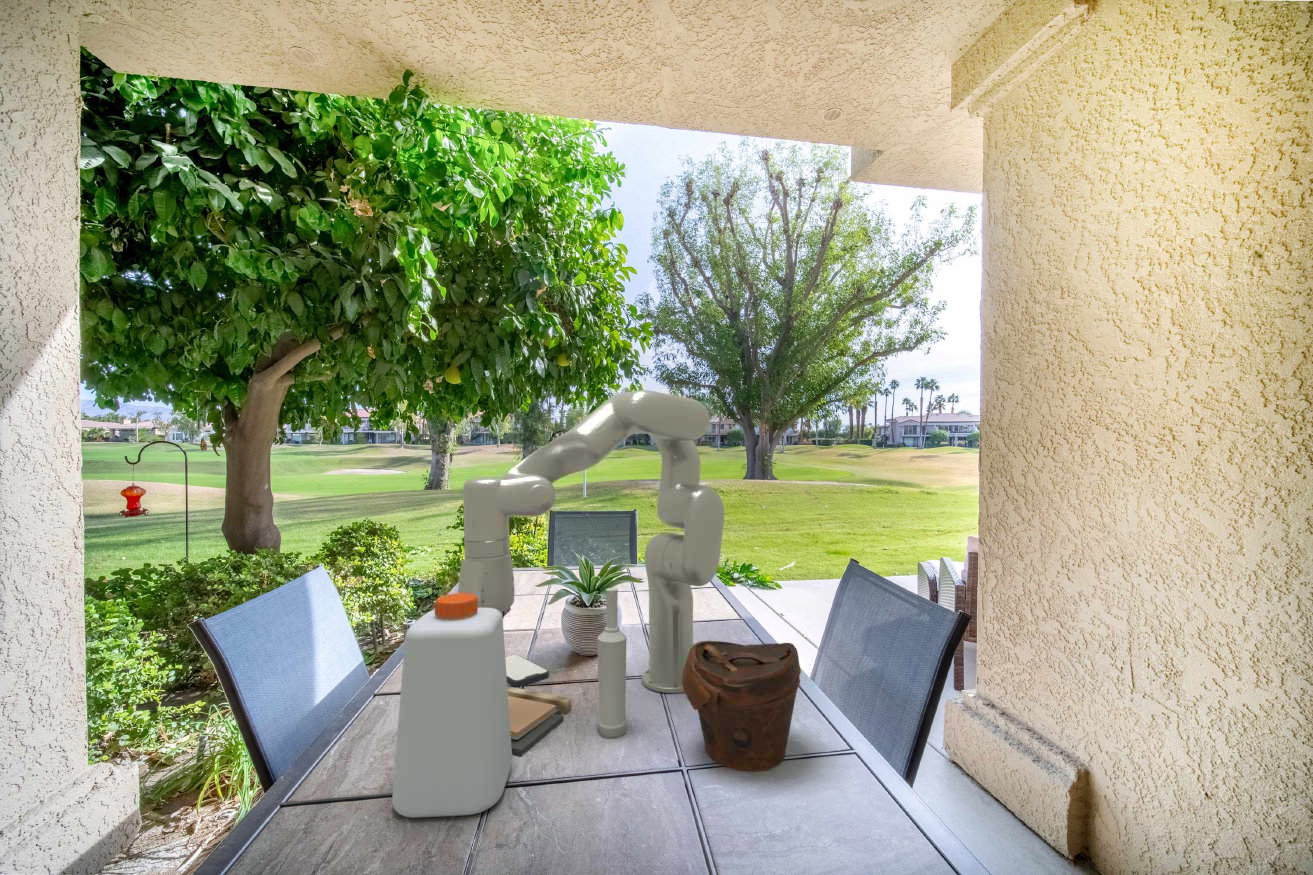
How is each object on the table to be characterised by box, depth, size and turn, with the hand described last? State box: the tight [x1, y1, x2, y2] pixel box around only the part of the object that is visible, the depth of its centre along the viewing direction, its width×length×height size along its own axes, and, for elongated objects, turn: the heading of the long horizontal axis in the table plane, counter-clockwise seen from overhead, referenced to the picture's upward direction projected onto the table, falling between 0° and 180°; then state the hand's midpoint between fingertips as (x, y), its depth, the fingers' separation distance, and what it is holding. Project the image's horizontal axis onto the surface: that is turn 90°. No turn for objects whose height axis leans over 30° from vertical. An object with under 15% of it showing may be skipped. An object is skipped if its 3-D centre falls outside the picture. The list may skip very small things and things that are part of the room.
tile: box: [508, 696, 556, 740], centre depth 103 cm, size 1×14×12 cm
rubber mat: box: [511, 714, 564, 757], centre depth 102 cm, size 18×13×1 cm
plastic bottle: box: [391, 592, 513, 819], centre depth 84 cm, size 15×15×28 cm
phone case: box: [505, 654, 550, 688], centre depth 128 cm, size 9×2×16 cm
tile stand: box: [507, 685, 572, 715], centre depth 111 cm, size 16×3×2 cm, turn 68°
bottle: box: [596, 587, 628, 739], centre depth 101 cm, size 5×5×25 cm
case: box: [682, 640, 802, 772], centre depth 94 cm, size 18×20×18 cm
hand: (489, 653), depth 99 cm, fingers closed
